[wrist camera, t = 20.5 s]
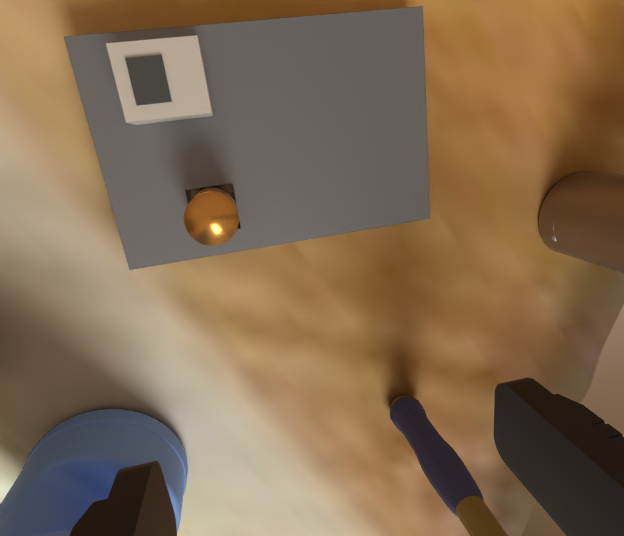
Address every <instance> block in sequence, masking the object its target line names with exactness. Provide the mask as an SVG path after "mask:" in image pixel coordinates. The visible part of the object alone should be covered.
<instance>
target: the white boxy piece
mask: <svg viewBox="0 0 624 536" xmlns="http://www.w3.org/2000/svg"><path fill="white" fill-rule="evenodd" d="M106 46H107V50H108V54H109V58H110V62H111V66H112V70H113V74H114V77H115V81H116V85H117V89H118V93H119V97H120V101H121V105H122V109H123V113H124V117H125V121H126V123H130V124H134V125H141V124H150V123H158V122H167V121H175V120H183V119H192V118H200V117H209V116H213V111H212V105H211V100H210V95H209V90H208V84H207V79H206V74H205V68H204V63H203V58H202V53H201V47H200V44H199V40H198V36H197V35H195V36H184V37H172V38H161V39H150V40H138V41H127V42H116V43H106Z"/></svg>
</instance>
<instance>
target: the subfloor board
mask: <svg viewBox="0 0 624 536" xmlns="http://www.w3.org/2000/svg"><path fill="white" fill-rule="evenodd" d="M195 35H197V36H198V40H199V44H200V47H201V53H202V58H203V63H204V68H205V74H206V79H207V84H208V90H209V95H210V100H211V105H212V111H213V116H209V117H200V118H192V119H183V120H175V121H167V122H158V123H150V124H141V125H134V124H130V123H126V121H125V117H124V113H123V109H122V105H121V101H120V97H119V93H118V89H117V85H116V81H115V77H114V74H113V70H112V66H111V62H110V58H109V54H108V50H107V46H106V43H116V42H127V41H138V40H150V39H161V38H172V37H184V36H195ZM64 39H65V43H66V46H67V50H68V54H69V57H70V61H71V64H72V68H73V71H74V75H75V78H76V82H77V85H78V89H79V92H80V96H81V100H82V103H83V107H84V110H85V114H86V117H87V121H88V124H89V128H90V131H91V135H92V138H93V142H94V146H95V149H96V153H97V156H98V160H99V163H100V167H101V170H102V174H103V177H104V181H105V184H106V188H107V191H108V195H109V199H110V202H111V206H112V209H113V213H114V216H115V220H116V223H117V227H118V230H119V234H120V237H121V241H122V245H123V248H124V252H125V255H126V259H127V262H128V266H129V269H130V270H132V269H138V268H144V267H150V266H156V265H162V264H167V263H173V262H179V261H185V260H191V259H197V258H202V257H208V256H214V255H220V254H226V253H232V252H238V251H243V250H249V249H255V248H261V247H267V246H273V245H278V244H284V243H290V242H296V241H302V240H308V239H313V238H319V237H325V236H331V235H337V234H343V233H348V232H354V231H360V230H366V229H372V228H378V227H383V226H389V225H395V224H401V223H407V222H413V221H419V220H424V219H430V210H429V179H428V149H427V118H426V87H425V57H424V26H423V6H419V7H407V8H396V9H384V10H372V11H360V12H348V13H337V14H325V15H313V16H301V17H290V18H278V19H266V20H254V21H242V22H231V23H219V24H207V25H195V26H183V27H172V28H160V29H148V30H136V31H124V32H113V33H101V34H89V35H77V36H65V37H64ZM231 183H233V188H234V194H235V199H236V205H237V209H238V215H239V221H240V223H239V225H238V228H237V231H236V233H235V234H234V236H233V237H232V238H231V239H230V240H229V241H227V242H226V243H223V244H221V245H216V246H208V245H204V244H201V243H199V242H197V241H196V240H194V239H193V238H192V237H191V236H190V235H189V233H188V232H187V230H186V227H185V224H184V212H185V209H186V207H187V205H188V204H189V202H190V201H191V197H190V192H189V190H190V189H197V188H204V187H211V186H217V185H224V184H231Z"/></svg>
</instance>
